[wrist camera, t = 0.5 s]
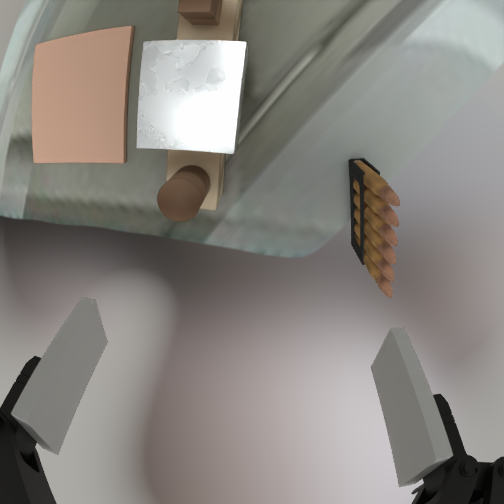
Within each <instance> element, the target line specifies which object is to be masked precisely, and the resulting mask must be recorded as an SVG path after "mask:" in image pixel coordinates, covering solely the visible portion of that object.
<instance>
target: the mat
mask: <svg viewBox="0 0 504 504" xmlns="http://www.w3.org/2000/svg"><path fill="white" fill-rule="evenodd" d="M134 28H135V27H134V26H124V27H117V28H110V29H103V30H97V31H92V32H86V33H81V34H76V35H72V36H67V37H63V38H59V39H55V40H51V41H47V42H44V43H40V44H37V45H35V55H34V66H33V83H32V140H33V156H34V163H66V162H83V163H125V162H126V139H127V106H128V88H129V74H130V63H131V53H132V44H133V35H134Z"/></svg>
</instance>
